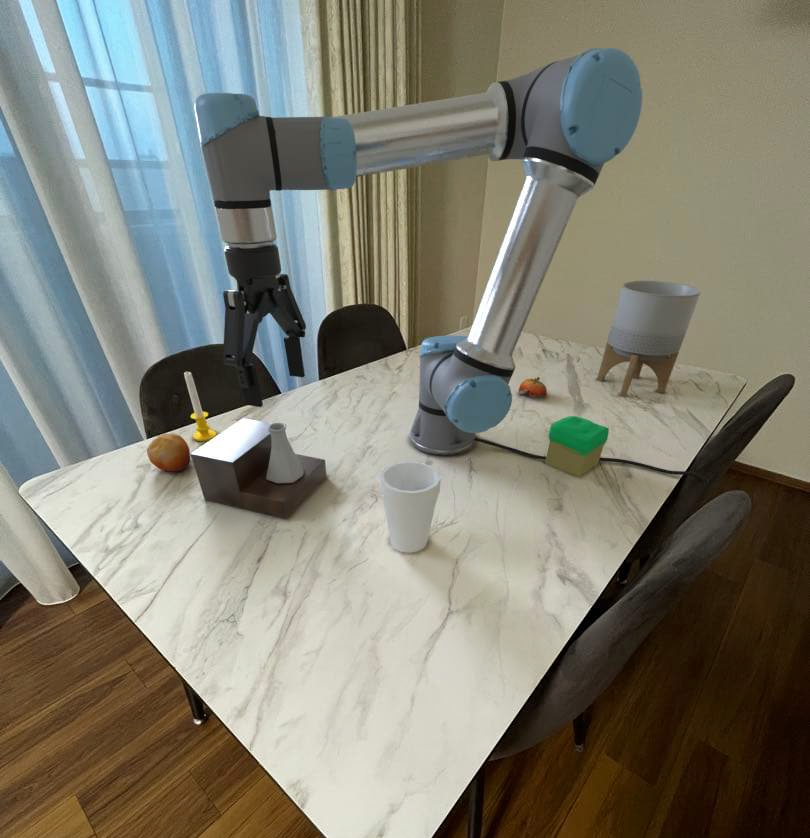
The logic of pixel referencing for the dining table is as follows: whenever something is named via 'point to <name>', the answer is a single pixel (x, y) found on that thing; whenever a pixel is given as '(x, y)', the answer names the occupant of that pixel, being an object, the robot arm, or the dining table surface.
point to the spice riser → (251, 472)
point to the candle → (198, 413)
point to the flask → (282, 457)
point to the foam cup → (409, 503)
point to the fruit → (169, 452)
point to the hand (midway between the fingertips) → (277, 389)
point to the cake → (575, 444)
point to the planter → (649, 329)
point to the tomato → (533, 387)
